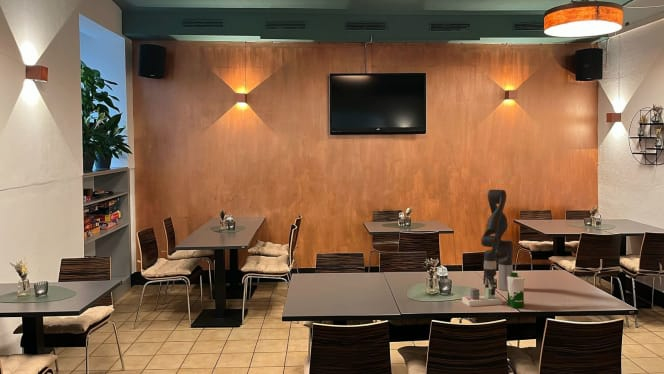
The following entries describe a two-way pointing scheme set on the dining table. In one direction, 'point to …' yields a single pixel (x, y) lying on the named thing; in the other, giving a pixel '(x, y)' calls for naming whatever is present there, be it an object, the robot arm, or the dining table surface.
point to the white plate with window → (480, 299)
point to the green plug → (489, 294)
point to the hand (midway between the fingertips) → (490, 293)
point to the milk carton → (515, 290)
